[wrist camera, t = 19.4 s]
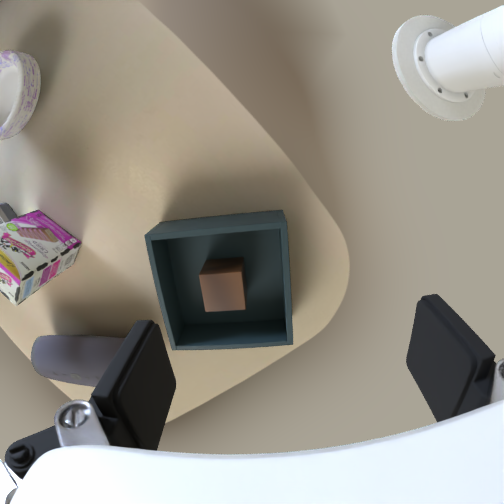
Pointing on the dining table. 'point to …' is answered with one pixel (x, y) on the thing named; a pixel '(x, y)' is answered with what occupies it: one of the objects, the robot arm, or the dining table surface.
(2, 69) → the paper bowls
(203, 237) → the square open bin
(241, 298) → the walnut block
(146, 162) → the dining table surface
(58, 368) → the bluetooth speaker
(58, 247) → the candy bar box
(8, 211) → the liquor
